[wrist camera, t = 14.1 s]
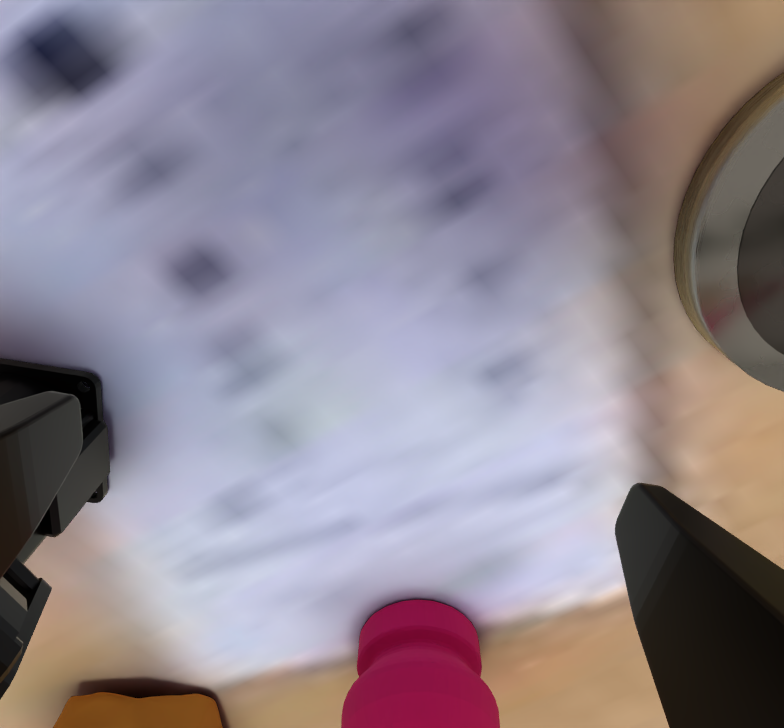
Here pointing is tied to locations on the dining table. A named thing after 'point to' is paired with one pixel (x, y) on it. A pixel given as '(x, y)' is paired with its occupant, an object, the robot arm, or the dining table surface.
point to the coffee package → (139, 712)
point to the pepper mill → (419, 671)
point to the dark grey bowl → (739, 240)
